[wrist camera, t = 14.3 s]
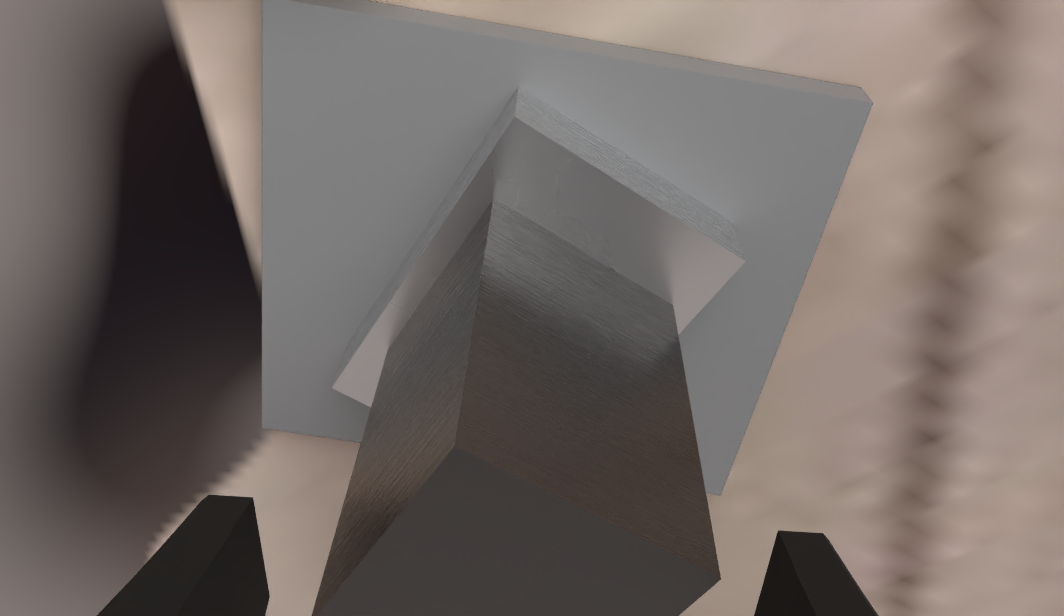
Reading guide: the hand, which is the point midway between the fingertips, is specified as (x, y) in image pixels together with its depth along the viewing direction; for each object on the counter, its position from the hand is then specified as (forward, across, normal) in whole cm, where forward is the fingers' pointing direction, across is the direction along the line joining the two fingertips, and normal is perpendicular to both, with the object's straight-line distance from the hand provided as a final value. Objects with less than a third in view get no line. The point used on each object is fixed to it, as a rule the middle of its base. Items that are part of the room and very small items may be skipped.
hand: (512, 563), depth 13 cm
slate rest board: (+8, 0, 0) cm, 8 cm away
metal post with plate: (+7, 0, 0) cm, 7 cm away
